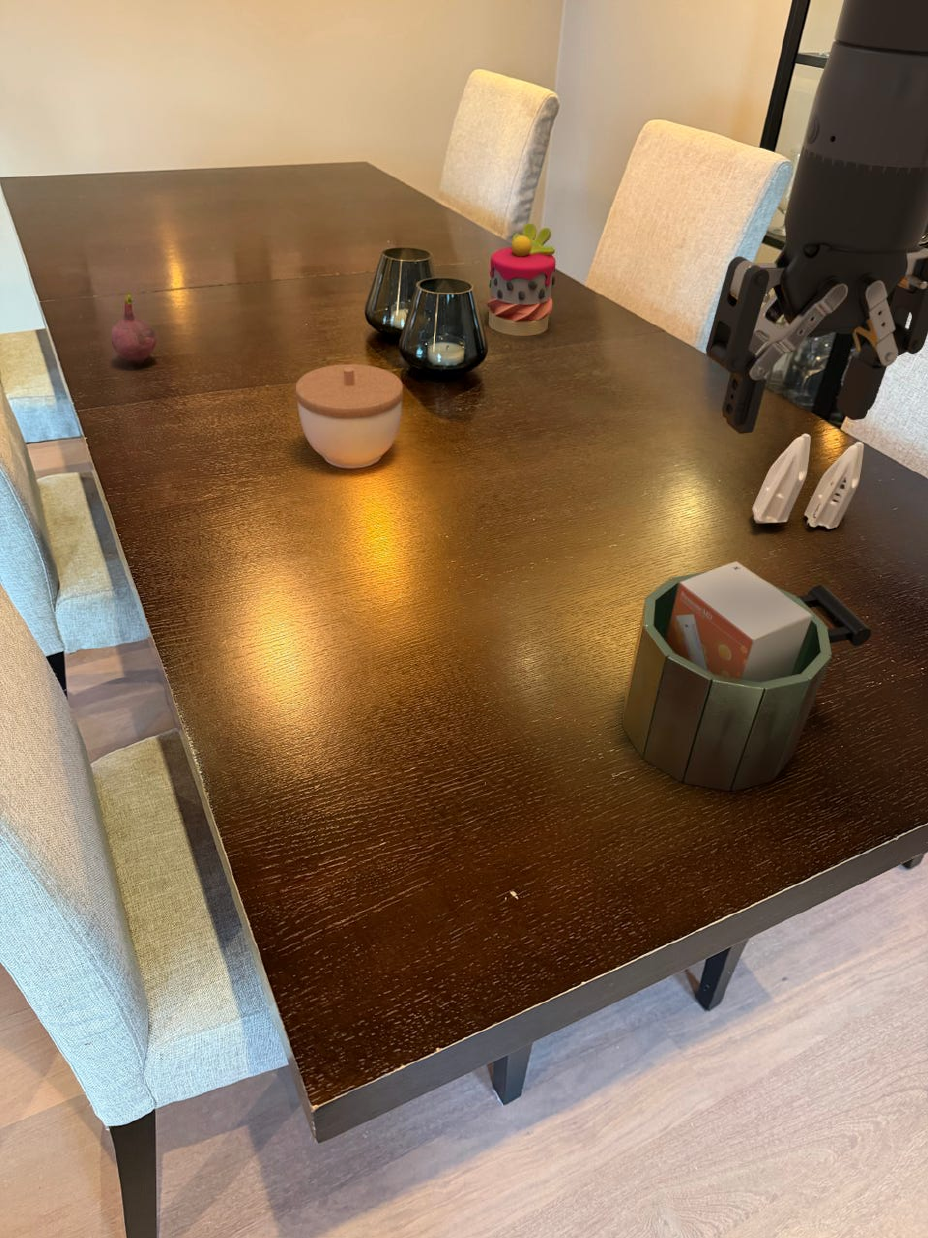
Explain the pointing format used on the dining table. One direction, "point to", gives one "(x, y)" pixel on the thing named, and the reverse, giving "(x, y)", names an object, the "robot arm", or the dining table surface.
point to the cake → (522, 284)
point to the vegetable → (133, 336)
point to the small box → (737, 625)
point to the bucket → (725, 699)
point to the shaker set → (791, 475)
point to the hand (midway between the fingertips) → (795, 421)
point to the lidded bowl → (350, 412)
